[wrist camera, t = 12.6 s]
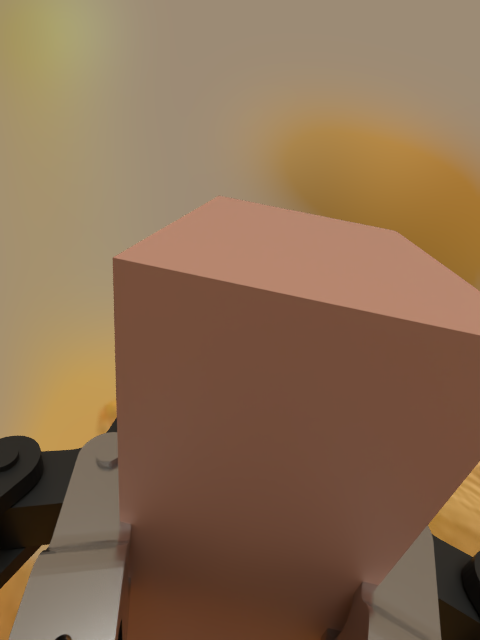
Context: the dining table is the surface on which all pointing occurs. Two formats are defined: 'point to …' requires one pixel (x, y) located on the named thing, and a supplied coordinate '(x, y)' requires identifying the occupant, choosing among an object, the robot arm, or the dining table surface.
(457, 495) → the dining table surface
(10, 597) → the dining table surface
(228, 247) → the reddish pink rectangular block
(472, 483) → the dining table surface
